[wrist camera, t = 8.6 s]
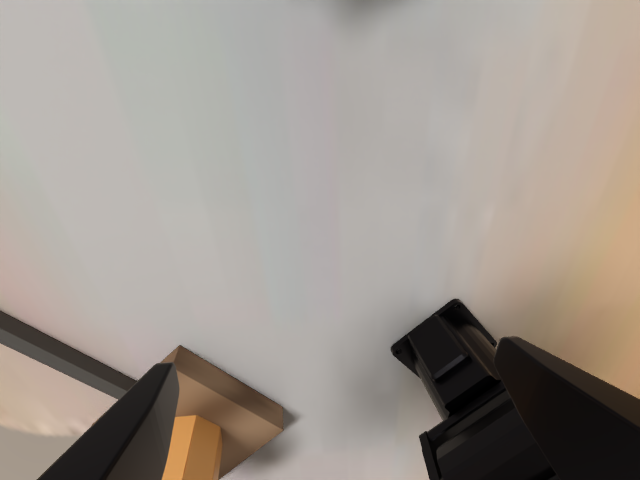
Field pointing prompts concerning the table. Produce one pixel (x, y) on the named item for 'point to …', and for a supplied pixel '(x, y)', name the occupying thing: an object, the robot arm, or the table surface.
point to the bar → (62, 357)
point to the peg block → (225, 407)
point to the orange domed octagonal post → (194, 450)
